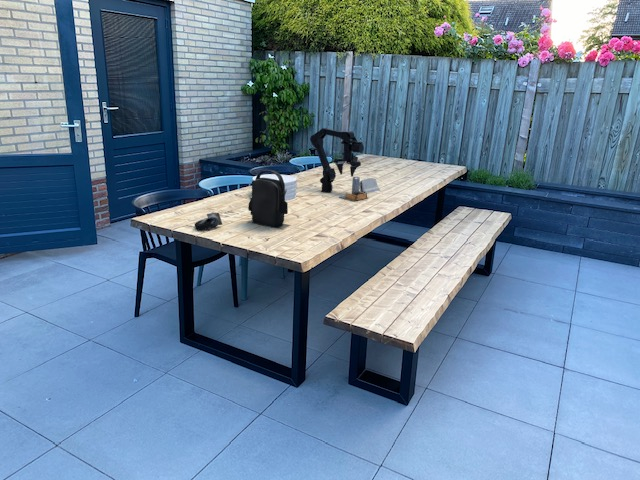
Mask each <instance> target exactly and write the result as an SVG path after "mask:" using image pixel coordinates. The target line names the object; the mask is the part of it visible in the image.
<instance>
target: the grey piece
mask: <svg viewBox="0 0 640 480" xmlns="http://www.w3.org/2000/svg"><path fill="white" fill-rule="evenodd" d="M360 179H361V178H360V176H353V177H352V181H351V182H352V185H351V194H354V195H359V192H360V187H359V183H360V181H361V180H360Z"/></svg>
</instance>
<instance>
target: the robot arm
mask: <svg viewBox="0 0 640 480" xmlns="http://www.w3.org/2000/svg"><path fill="white" fill-rule="evenodd" d="M327 136H331V137H335V138H339V139H341V140H342V141H341V142H340V144H342V146H343V148H342V152H341V155H342V158H341V157H337V158H334V159H333V163H334V164H335V166H336V167H337V169H338V172H339V174H340V175H343V167H344V165H345V164H347V165H350V166H349V168H350V177H352V178H353V177H354V174H355V171H356V169H358V168H360V167H361V166H362V164H361V163H362V162H361V161H359V160H358V159H359V157H358V156H356V155H354V153H358V154H362V153H363V152H364V150H365V149H364V148H365V147H364V144H363V141H358V140H357V138H356V136H355V132H353V131H352V130H348V131H346V130H345V131H341V130H338V129H337V130H336V129H331V128H328V127H323V128H321V129H320V130H319V131H317V132H316V133H314V134H312V135H310V138H309V140H310V142H311V145H312V146H313V147H314V148H315V150H316V152H317V155H318V158H319V162H320V164H321V167H322V176H321V178H320V179H319V181H320V183H321V191H320V192H321V193H328V194H329V193H332V191H333V184H332V183H333V182H334V180H335V179H336V177H337V173H336V171H335V168H334V167H333V168H332V167H331V166H330V162H329V160H328V157H327V155H326V151H325V148H324V139H325V138H326V137H327Z"/></svg>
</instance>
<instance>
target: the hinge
mask: <svg viewBox="0 0 640 480" xmlns="http://www.w3.org/2000/svg"><path fill="white" fill-rule="evenodd" d="M380 190H381V189H380V187H379V186H378V182H377V180H376V178H374V177H367V178H364V179H362V180H360V183H359V192H363V193H367V194H370V193H374V192H379V191H380Z"/></svg>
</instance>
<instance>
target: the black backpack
mask: <svg viewBox="0 0 640 480" xmlns="http://www.w3.org/2000/svg"><path fill="white" fill-rule="evenodd" d="M267 172H270V173H271V174H275V175H276V176H277V177H278V179H279V180H275V179H270V178H260V176H261V175H264V173H267ZM281 175H282V174H280V173H279V172H278V171H276V170H275V169H274V170H272V169H264V170H262V171H260V172H259V173H258V174H257V175H256V176H257V177H256V180H255V181H254V180H253V181H251V197H250V198H249V200H250V201H249V202H248V207H247V208H248V211H249V212H250V215H251V220H248V221H246V222H247V223H251V224H255V225H258V226H259V225H260V226H263V227H264V226H265V227H268V228H269V227H270V228H272V229H273V228H274V229H277V230H278V229H279V230H285V229H287V228H288V227H291V226H292V224H286V223H284V222H285V215H287V214H288V213H289V212H288V209H289V207H288V202H287V200H286V201H285V194H286V191H287V189H286V191H285V184H284V181H283V178H282V176H281Z"/></svg>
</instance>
